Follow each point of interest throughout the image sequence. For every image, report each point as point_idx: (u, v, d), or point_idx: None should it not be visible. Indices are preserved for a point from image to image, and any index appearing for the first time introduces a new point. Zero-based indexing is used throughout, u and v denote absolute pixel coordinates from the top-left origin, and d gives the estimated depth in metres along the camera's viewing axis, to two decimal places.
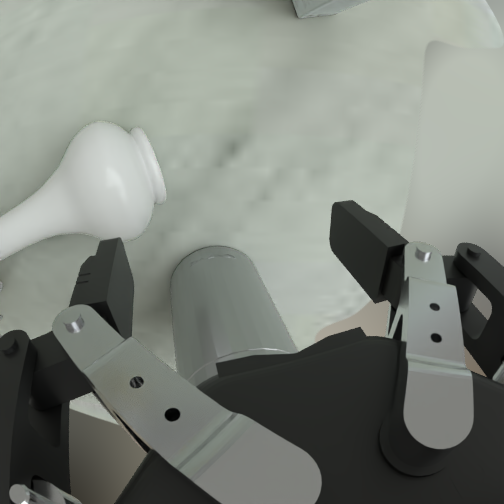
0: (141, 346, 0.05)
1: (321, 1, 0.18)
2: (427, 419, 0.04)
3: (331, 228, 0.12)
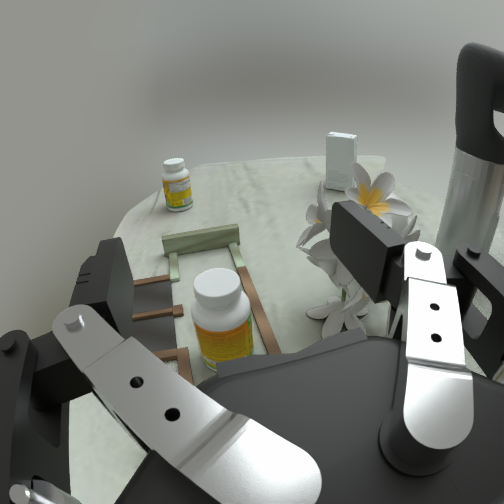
0: (141, 346, 0.05)
1: None
2: (427, 419, 0.04)
3: (331, 228, 0.12)
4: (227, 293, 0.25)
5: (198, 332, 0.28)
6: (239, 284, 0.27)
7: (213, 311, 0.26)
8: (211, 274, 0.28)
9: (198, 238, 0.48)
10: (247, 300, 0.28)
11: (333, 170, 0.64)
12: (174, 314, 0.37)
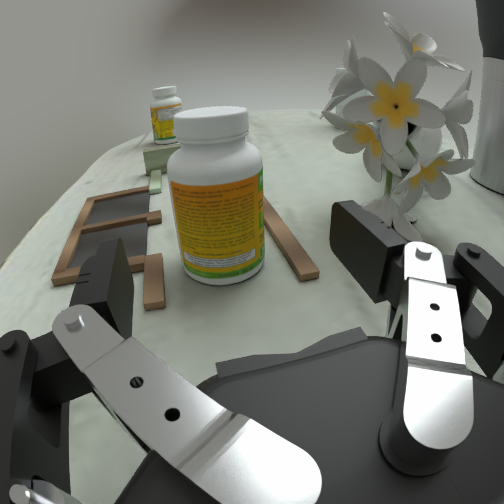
0: (141, 346, 0.05)
1: None
2: (427, 419, 0.04)
3: (331, 228, 0.12)
4: (226, 114, 0.14)
5: (176, 199, 0.17)
6: (246, 112, 0.16)
7: (203, 152, 0.15)
8: (202, 109, 0.17)
9: None
10: (257, 150, 0.17)
11: None
12: (148, 220, 0.26)
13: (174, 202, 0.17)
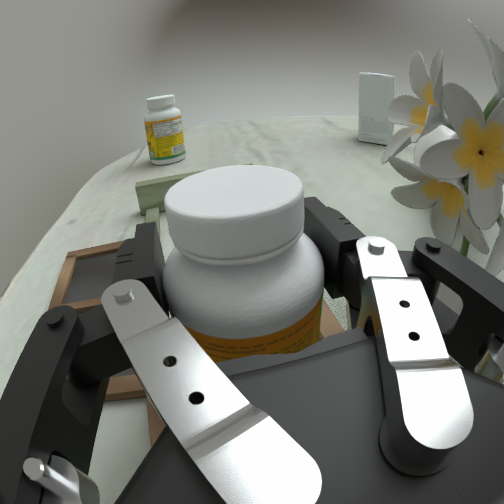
0: (182, 327, 0.06)
1: None
2: (427, 419, 0.04)
3: None
4: (271, 207, 0.08)
5: None
6: None
7: (226, 276, 0.09)
8: (216, 176, 0.10)
9: None
10: (315, 247, 0.10)
11: (369, 117, 0.46)
12: None
13: None
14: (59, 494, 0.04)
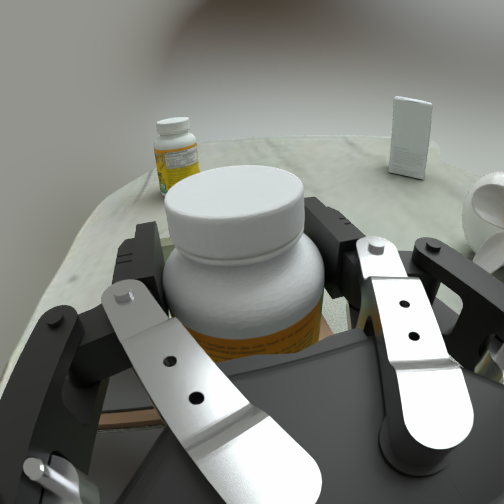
0: (182, 328, 0.06)
1: (426, 146, 0.40)
2: (427, 419, 0.04)
3: None
4: (271, 207, 0.08)
5: None
6: None
7: (226, 276, 0.09)
8: (215, 176, 0.10)
9: None
10: (315, 247, 0.10)
11: (402, 147, 0.42)
12: None
13: None
14: (59, 494, 0.04)
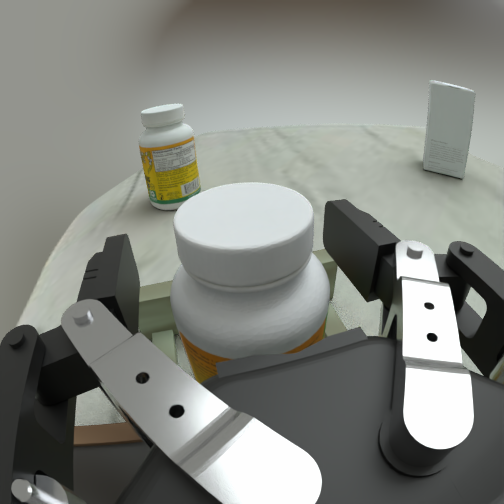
0: (148, 342, 0.05)
1: (467, 140, 0.31)
2: (427, 419, 0.04)
3: (324, 227, 0.13)
4: (283, 238, 0.08)
5: (192, 357, 0.10)
6: (312, 215, 0.09)
7: (236, 300, 0.09)
8: (224, 195, 0.10)
9: None
10: (322, 267, 0.11)
11: (440, 141, 0.33)
12: None
13: (188, 355, 0.10)
14: None
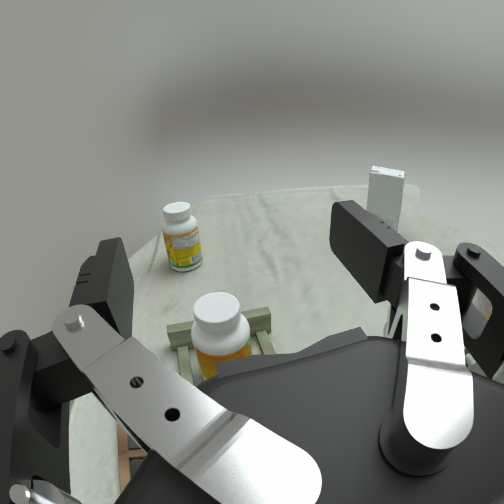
0: (141, 346, 0.05)
1: (397, 214, 0.50)
2: (427, 419, 0.04)
3: (331, 228, 0.12)
4: (226, 319, 0.25)
5: (198, 355, 0.28)
6: (238, 309, 0.27)
7: (213, 336, 0.26)
8: (210, 299, 0.28)
9: None
10: (246, 324, 0.28)
11: None
12: None
13: (197, 354, 0.28)
14: None
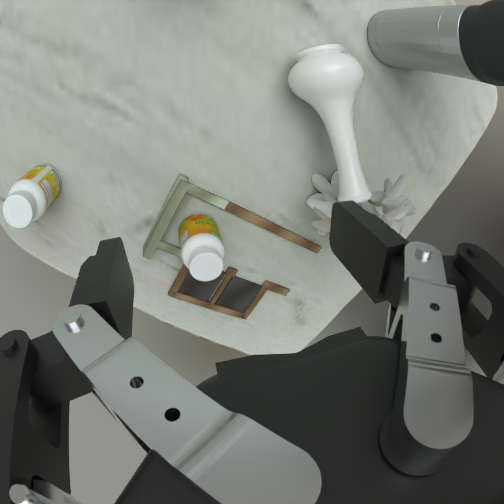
0: (141, 346, 0.05)
1: None
2: (427, 419, 0.04)
3: (331, 228, 0.12)
4: (222, 269, 0.37)
5: None
6: (219, 257, 0.37)
7: None
8: (197, 266, 0.36)
9: None
10: (216, 241, 0.38)
11: None
12: (234, 275, 0.50)
13: None
14: None
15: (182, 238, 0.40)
